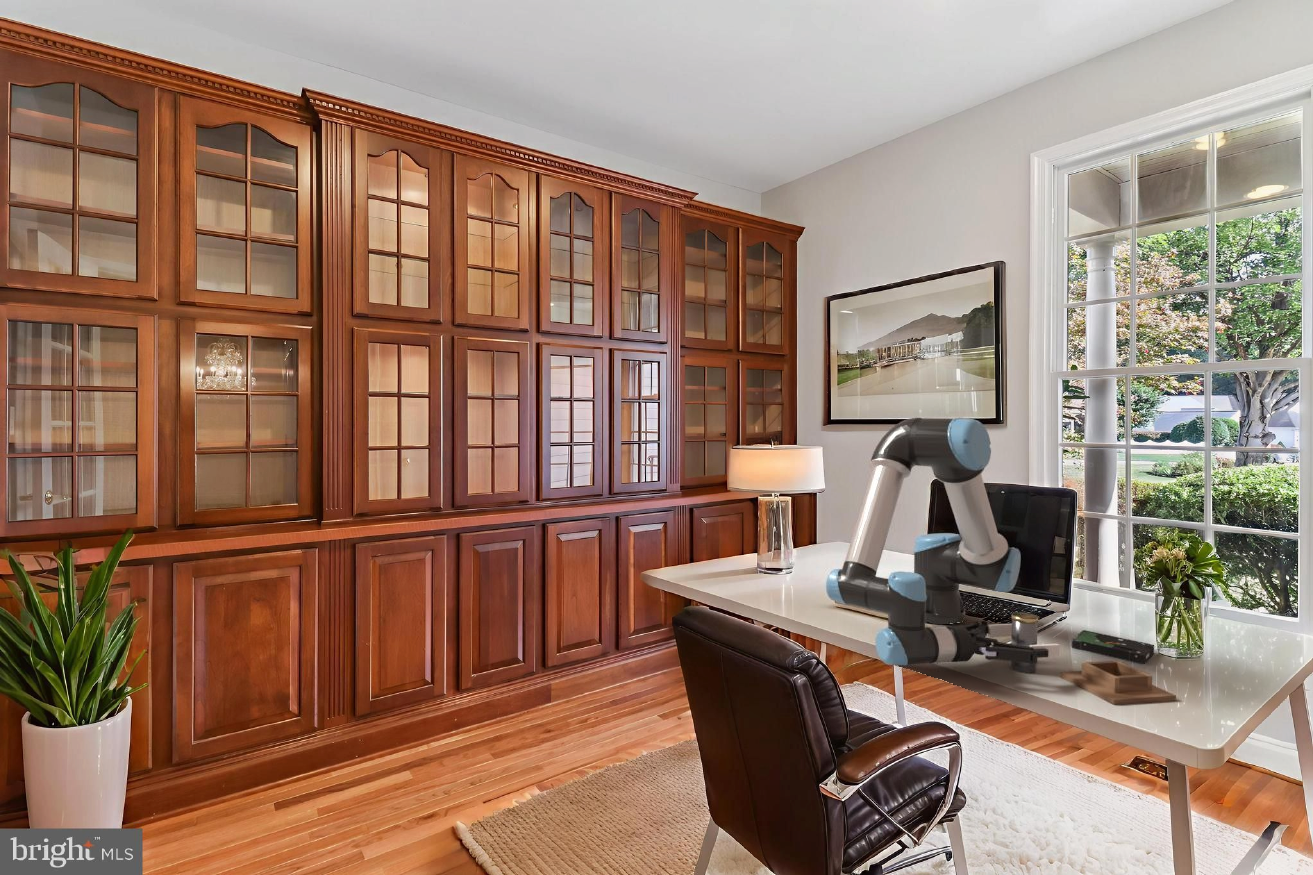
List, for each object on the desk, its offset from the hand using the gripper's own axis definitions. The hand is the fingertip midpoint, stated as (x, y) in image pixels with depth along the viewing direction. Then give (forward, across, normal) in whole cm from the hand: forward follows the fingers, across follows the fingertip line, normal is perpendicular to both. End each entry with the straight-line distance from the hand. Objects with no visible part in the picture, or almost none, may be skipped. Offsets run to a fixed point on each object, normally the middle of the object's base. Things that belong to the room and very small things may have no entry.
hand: (1035, 639), depth 149 cm
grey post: (-3, 0, -7) cm, 7 cm away
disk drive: (+27, -8, -7) cm, 29 cm away
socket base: (+9, +12, -6) cm, 16 cm away
